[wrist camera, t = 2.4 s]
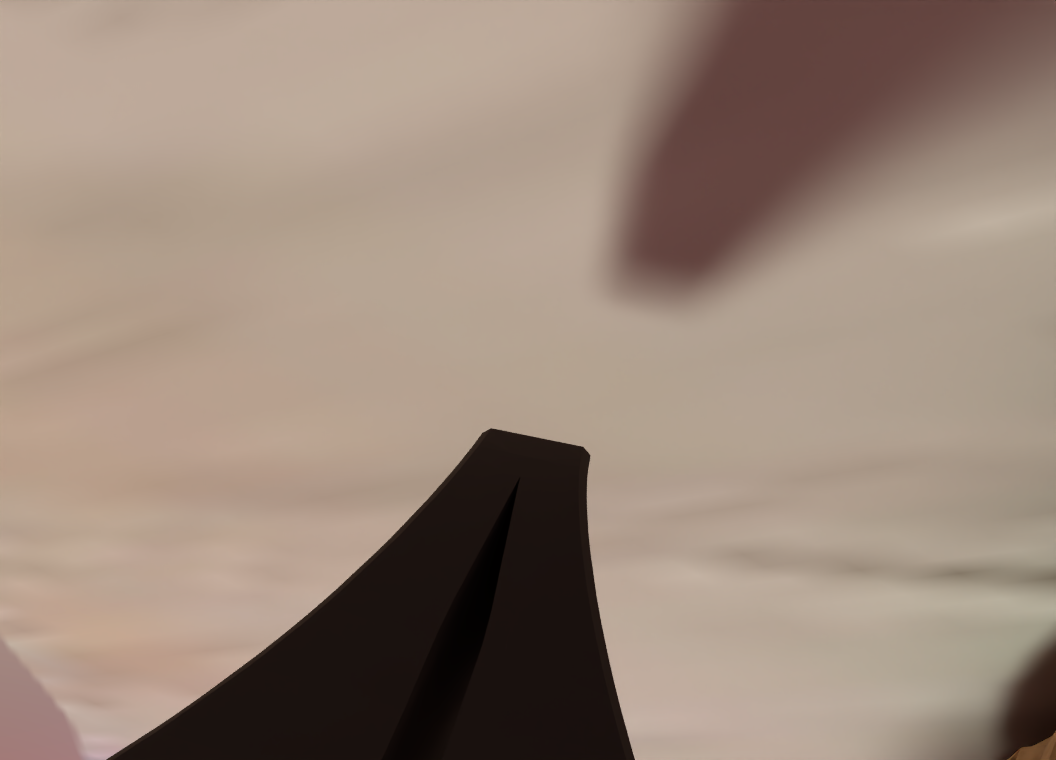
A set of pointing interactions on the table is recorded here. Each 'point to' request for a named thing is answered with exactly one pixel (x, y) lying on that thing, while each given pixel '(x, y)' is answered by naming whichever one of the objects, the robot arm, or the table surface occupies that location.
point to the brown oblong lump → (1038, 751)
